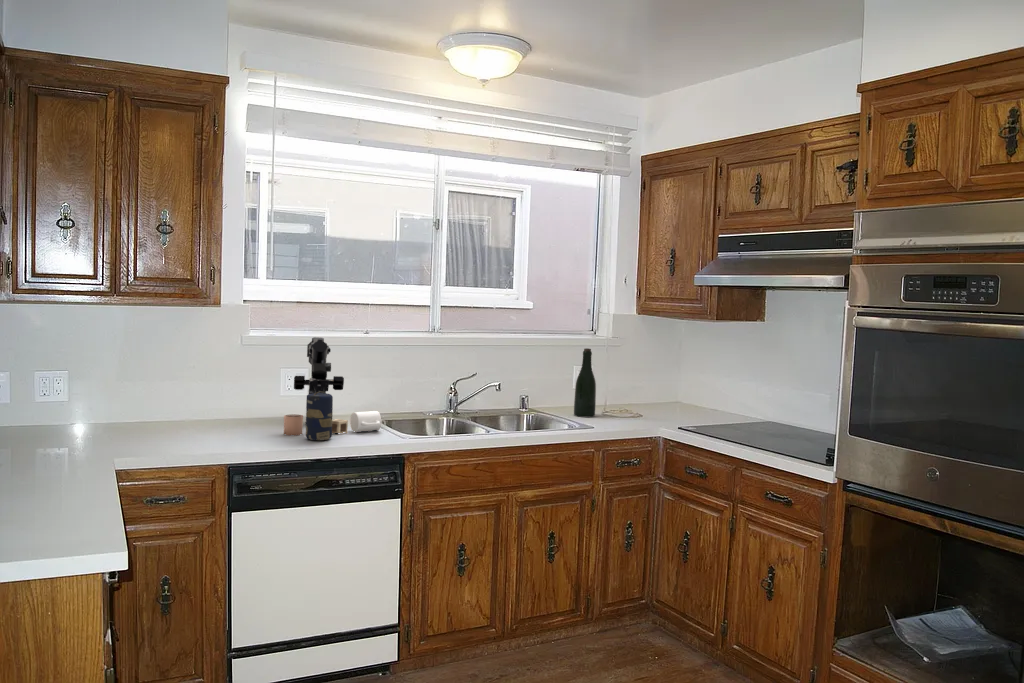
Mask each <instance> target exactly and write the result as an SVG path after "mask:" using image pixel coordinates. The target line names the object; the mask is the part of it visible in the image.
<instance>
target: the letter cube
mask: <svg viewBox="0 0 1024 683" xmlns="http://www.w3.org/2000/svg"><path fill="white" fill-rule="evenodd" d="M348 422H349V421H348V420H346V419H341V418H336V419H332V433H343V432H347V433H348V426H349V425H348V424H349V423H348Z"/></svg>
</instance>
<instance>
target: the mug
mask: <svg viewBox="0 0 1024 683" xmlns="http://www.w3.org/2000/svg"><path fill="white" fill-rule="evenodd" d="M349 421H350V422H349V423H350V429H351V431H352V430H353V431H355V432H354V433H362V432H361V431H368V432H373V431H372V430H378V431H380V429H381V428H382V427H381V426H382V417H381V413H380V412H379V411H377V410H372V411H371V410H369V411H354V412H352V413H351V415H350V419H349ZM353 431H352V432H353Z"/></svg>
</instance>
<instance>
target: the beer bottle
mask: <svg viewBox="0 0 1024 683" xmlns="http://www.w3.org/2000/svg"><path fill="white" fill-rule="evenodd" d="M592 352H593V351H592V349H591V348H583V351H582V363H581V367H580V371H579V373H578V376H577V378H576V380H575V388H574V400H573V401H574V402H573V415H574V416H575V415H577V416H576V417H579V416H594V417H595V415H596V399H597V381H596V377H595V375H594V370H593V367H592V356H593V353H592Z"/></svg>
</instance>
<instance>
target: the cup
mask: <svg viewBox="0 0 1024 683" xmlns="http://www.w3.org/2000/svg"><path fill="white" fill-rule="evenodd" d="M303 430H304V415H303V414H293V413H291V414H284V415H283V435H284V434H286V435H285V436H291V435H294V436H301V435H300V434H302V435H303V432H304V431H303Z"/></svg>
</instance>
